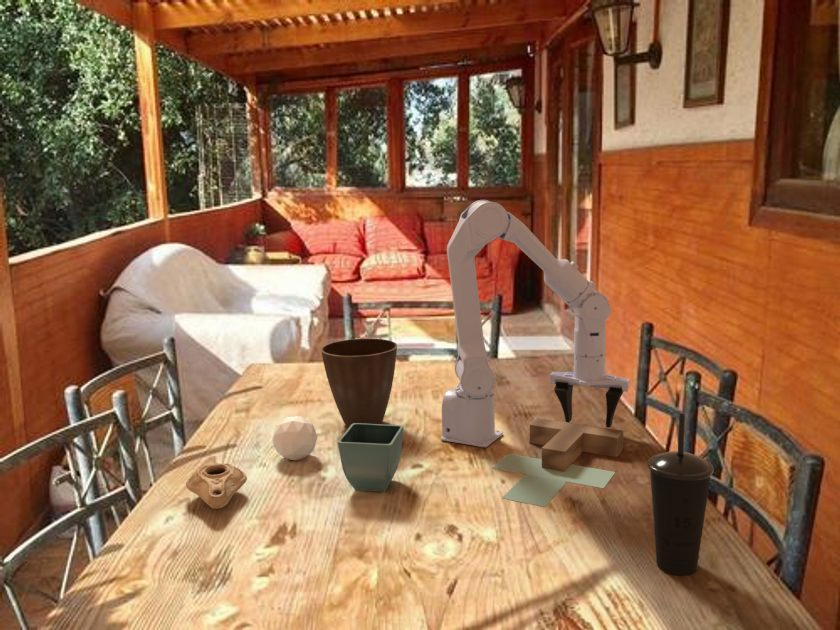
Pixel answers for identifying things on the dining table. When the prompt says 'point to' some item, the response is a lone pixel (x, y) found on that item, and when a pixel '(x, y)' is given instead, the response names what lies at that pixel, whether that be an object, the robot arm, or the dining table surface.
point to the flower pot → (370, 455)
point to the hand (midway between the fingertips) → (588, 423)
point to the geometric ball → (294, 438)
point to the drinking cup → (679, 506)
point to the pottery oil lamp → (216, 483)
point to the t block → (572, 442)
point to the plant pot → (360, 377)
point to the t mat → (546, 479)
